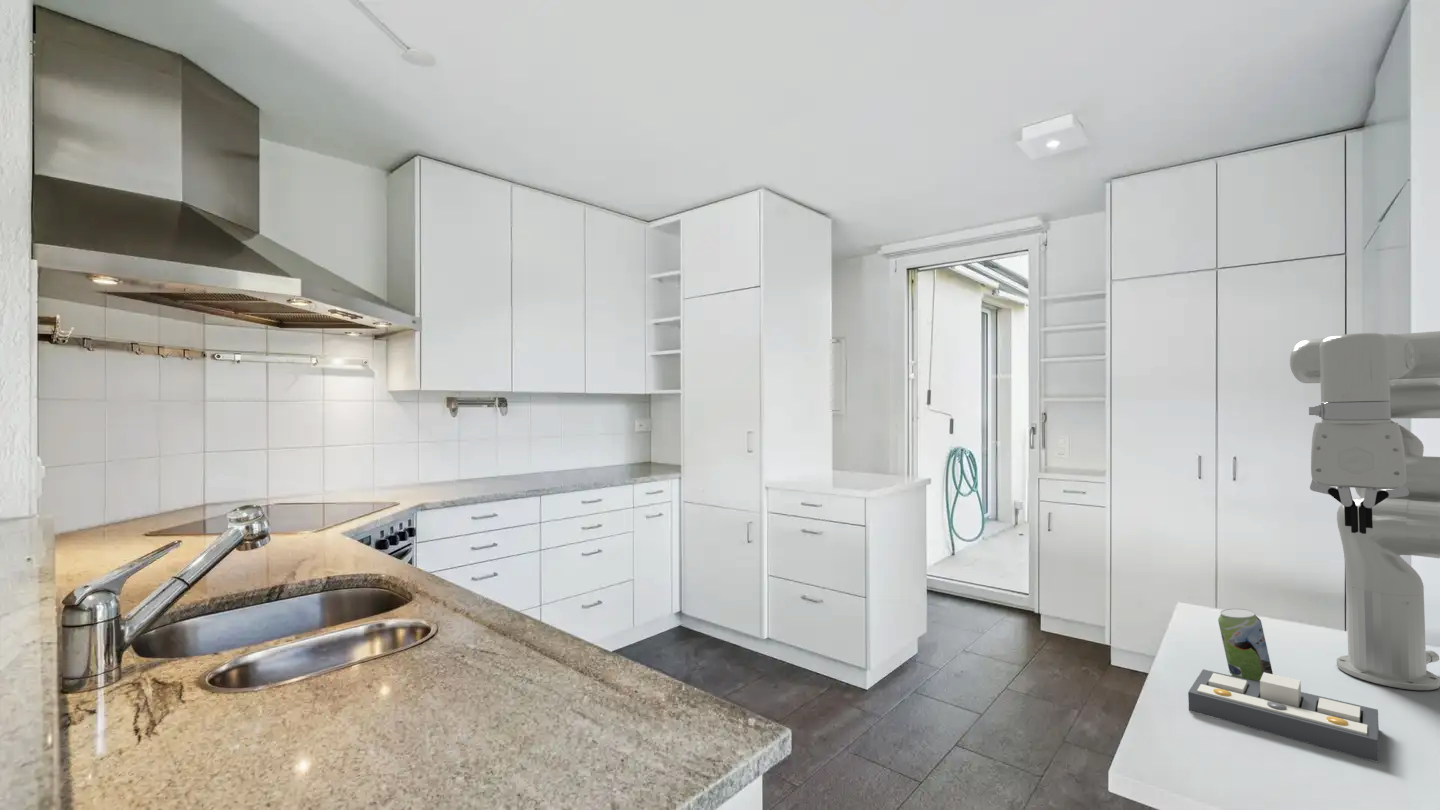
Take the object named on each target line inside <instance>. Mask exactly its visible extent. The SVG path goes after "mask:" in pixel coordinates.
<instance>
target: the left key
mask: <svg viewBox="0 0 1440 810" xmlns="http://www.w3.org/2000/svg"><path fill="white" fill-rule="evenodd" d="M1208 682H1209V686H1213V687H1217V688H1221V689H1225V690H1229V691H1233V692H1237V693H1242V694H1246V692H1247V681H1246V680H1242V679H1238V678H1233V677H1229V676H1225V675H1220V674H1216V673H1213V674H1212V676H1211V678H1210V679H1209V681H1208Z"/></svg>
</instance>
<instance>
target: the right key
mask: <svg viewBox="0 0 1440 810" xmlns="http://www.w3.org/2000/svg"><path fill="white" fill-rule="evenodd" d="M1317 710H1318V712H1319V713H1323V714H1327V715H1331V716H1335V717H1339V718H1344V719H1348V720H1352V721H1356V722H1360V723H1361V715H1360V707H1358V706H1354V705H1350V704H1345V703H1341V702H1337V701H1332V700H1328V699H1324V698H1319V702H1318V707H1317Z"/></svg>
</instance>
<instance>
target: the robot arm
mask: <svg viewBox="0 0 1440 810" xmlns="http://www.w3.org/2000/svg"><path fill="white" fill-rule="evenodd" d="M1289 367H1290V371H1291V373H1292V376H1294V378H1295V379H1296V380H1297V381H1299V382H1301V383H1302V384H1320V400H1321V401H1320V404H1319V405H1315V406H1308V415H1309V416H1315V417H1319V418H1321V422H1315V423H1314V427H1313V432H1312V438H1311V449H1310V450H1311V452H1310V453H1311V454H1310V469H1311V470H1310V475H1311V479H1312V480H1311V482H1310V486H1309V490H1311V491H1312V492H1317V493H1320V494H1325V495H1329V496H1331V497H1332V498H1333V499H1335V500H1336V501H1337V502H1339V503H1340V506H1338V509H1337V511H1336V521H1337V528H1338V531H1339V537H1340V540H1341V544H1342V549H1343V557H1344V566H1345V568H1344V569H1345V595H1346V596H1345V597H1346V599H1345V600H1346V622H1347V624H1346V625H1347V628H1346V629H1347V655H1342V656H1339V657H1337V658H1336V666H1337V668H1338V669H1339V670H1341V671H1342V672H1344V673H1345V674H1347V675H1350V676H1352V677H1354V678H1357V679H1360V680H1363V681H1366V682H1369V683H1373V684H1376V685H1381V686H1386V687H1391V688H1397V689H1401V690H1410V691H1411V690H1412V691H1434V690H1436V689H1439V688H1440V678H1439V677H1438V676H1437V675H1436V674H1434V673H1433V672H1431V671H1428V670H1427V665H1428V664H1430V663H1435V662H1438V661H1439V660H1440V656H1439V654H1438V653H1437V652H1436V651H1434V650H1427V649H1426V629H1425V628H1426V621H1425V620H1426V619H1425V615H1426V614H1425V593H1424V592H1425V587H1424V586H1425V585H1424V582H1423V580H1422V578H1421V576H1420V574H1419V573H1418V572H1417V571H1416V570H1415V569H1414V568H1413V567H1412V566H1411V565H1410V564H1409V563H1408V562H1407V561H1406V560H1405V559H1404V558H1403V557H1401V556H1415V557H1416V556H1417V557H1425V558H1434V559H1440V456H1428V455H1427V456H1424V449H1425V447H1424V443H1423V442H1422V440H1420V438H1419V437H1418V436H1417V435H1415V434H1414V433H1413V432H1412V431H1410V430H1409V429H1408V428H1406V427H1404V426H1402V425H1401V424H1399V422H1395V421H1393V420H1392V419H1440V331H1439V330H1437V331H1426V332H1424V331H1423V332H1422V331H1421V332H1412V333H1411V332H1409V333H1395V334H1394V333H1377V332H1361V333H1348V334H1347V333H1346V334H1337V335H1331V336H1328V337H1322V338H1312V339H1311V338H1309V339H1303V340H1300V341H1299V342H1297V343H1296V344H1295V345H1294V347H1293V348H1292V350H1291V353H1290V356H1289ZM1351 488H1353V489H1354V488H1355V492H1356V494H1357V496H1359V497H1356V498H1353V495H1352V492H1351Z"/></svg>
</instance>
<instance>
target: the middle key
mask: <svg viewBox="0 0 1440 810" xmlns="http://www.w3.org/2000/svg"><path fill="white" fill-rule="evenodd" d="M1301 683H1302V682H1301V679H1296V678H1291V677H1287V676H1282V675H1277V674H1274V673H1273V674H1269V673H1265V672H1263V675H1262V677H1261V680H1260V698H1262V699H1266V700H1270V701H1274V702H1278V703H1282V704H1286V705H1291V706H1295V707H1299V706H1300V702H1301V692H1302V688H1301V687H1302V686H1301V685H1302V684H1301Z"/></svg>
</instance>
